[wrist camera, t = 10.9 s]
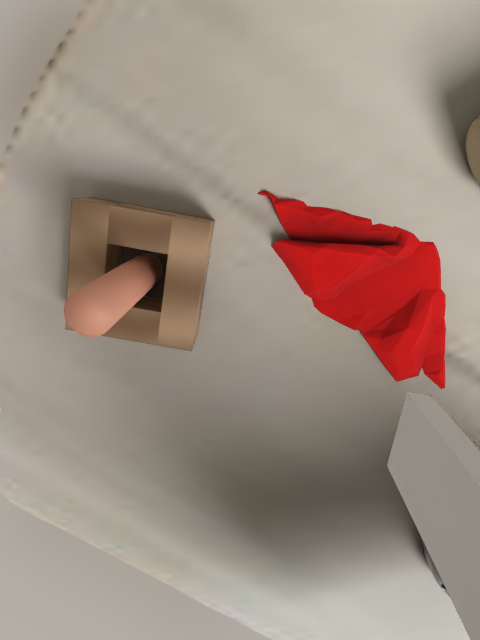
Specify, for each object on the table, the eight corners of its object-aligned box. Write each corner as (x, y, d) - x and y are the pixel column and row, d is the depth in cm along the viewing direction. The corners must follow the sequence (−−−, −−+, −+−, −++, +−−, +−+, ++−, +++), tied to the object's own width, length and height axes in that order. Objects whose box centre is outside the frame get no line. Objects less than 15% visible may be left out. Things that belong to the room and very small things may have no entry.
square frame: (197, 335, 40) (191, 351, 36) (83, 315, 40) (65, 329, 36) (214, 219, 37) (210, 223, 33) (90, 197, 36) (71, 198, 33)
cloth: (494, 361, 41) (507, 371, 38) (367, 426, 43) (373, 439, 41) (369, 115, 35) (377, 110, 32) (230, 208, 37) (229, 209, 35)
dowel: (160, 288, 39) (111, 340, 25) (128, 282, 39) (62, 332, 25) (164, 256, 38) (115, 293, 24) (131, 250, 38) (65, 284, 24)
